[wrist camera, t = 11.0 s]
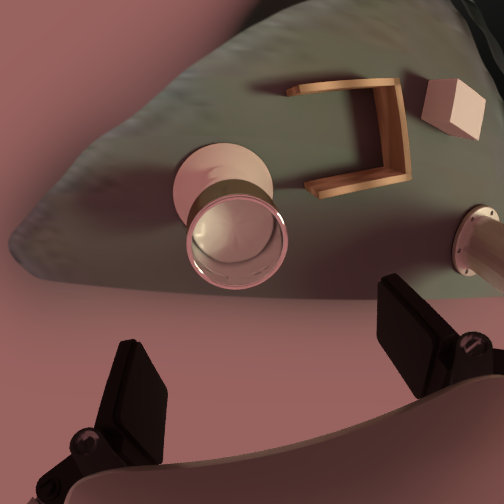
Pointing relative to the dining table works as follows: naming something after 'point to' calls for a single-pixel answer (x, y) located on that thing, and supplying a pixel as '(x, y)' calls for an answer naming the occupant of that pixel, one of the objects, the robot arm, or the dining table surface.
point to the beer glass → (234, 231)
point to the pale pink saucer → (214, 158)
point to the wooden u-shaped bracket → (390, 135)
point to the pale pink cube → (454, 108)
